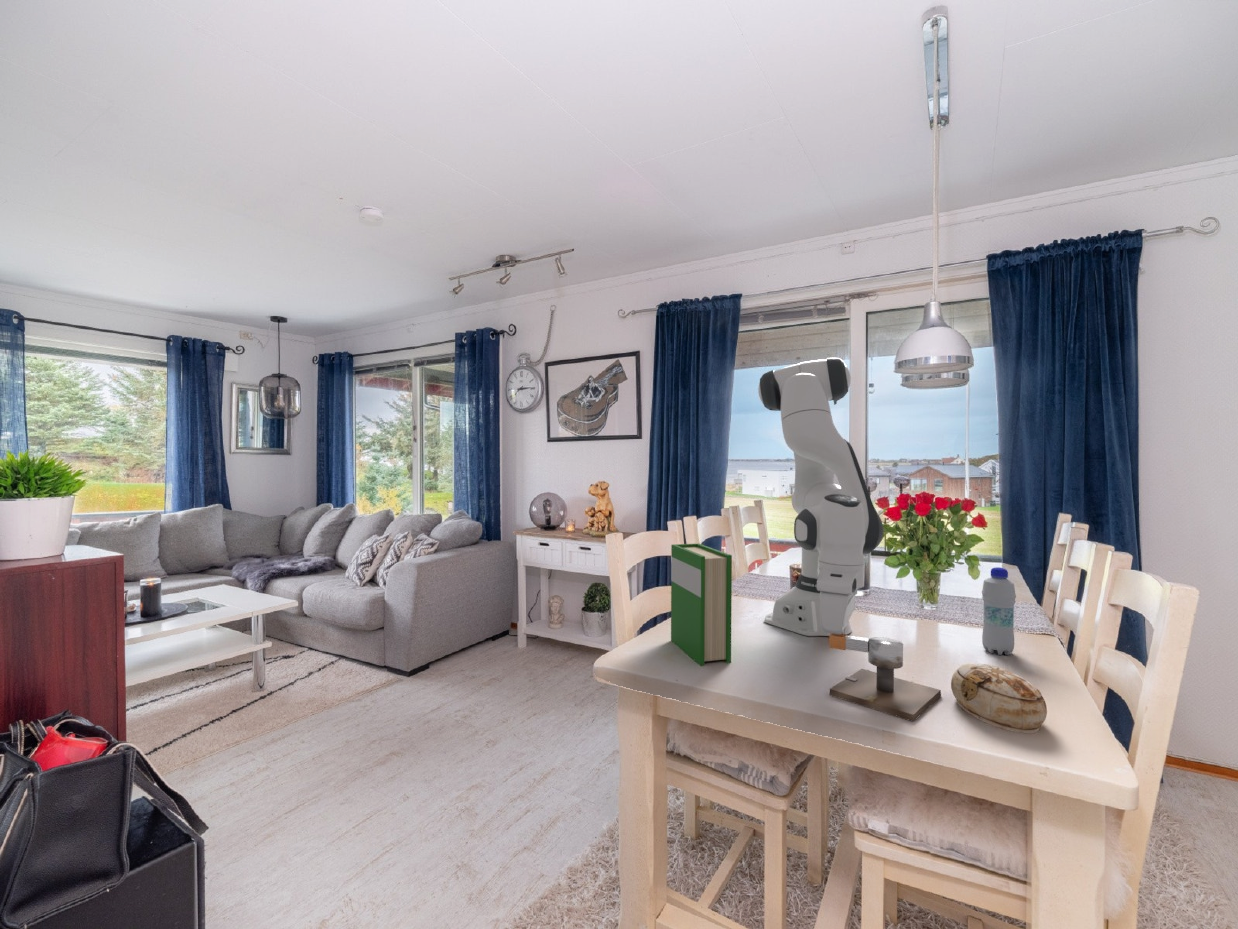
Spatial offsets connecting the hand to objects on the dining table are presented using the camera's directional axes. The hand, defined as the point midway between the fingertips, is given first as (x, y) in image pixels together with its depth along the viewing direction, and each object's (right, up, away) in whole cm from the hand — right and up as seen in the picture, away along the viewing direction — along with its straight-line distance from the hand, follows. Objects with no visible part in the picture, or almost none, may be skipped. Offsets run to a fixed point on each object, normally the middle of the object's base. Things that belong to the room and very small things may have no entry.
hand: (839, 643), depth 114 cm
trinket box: (+23, -9, -14) cm, 28 cm away
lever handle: (+3, -2, -5) cm, 6 cm away
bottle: (+45, -8, +19) cm, 49 cm away
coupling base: (+6, -8, -6) cm, 12 cm away
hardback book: (-26, -8, +18) cm, 33 cm away
